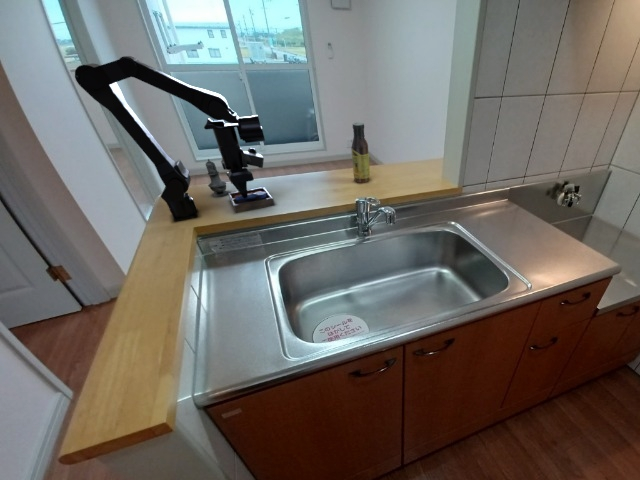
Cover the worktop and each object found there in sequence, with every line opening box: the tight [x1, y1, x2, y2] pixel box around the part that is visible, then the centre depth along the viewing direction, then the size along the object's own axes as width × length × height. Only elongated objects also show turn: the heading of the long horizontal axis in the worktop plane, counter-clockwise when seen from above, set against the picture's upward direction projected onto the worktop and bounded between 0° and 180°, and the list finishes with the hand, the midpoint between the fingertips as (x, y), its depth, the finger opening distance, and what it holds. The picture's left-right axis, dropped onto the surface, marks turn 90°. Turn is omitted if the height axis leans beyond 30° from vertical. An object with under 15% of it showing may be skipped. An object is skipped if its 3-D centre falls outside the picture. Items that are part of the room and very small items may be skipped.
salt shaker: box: [205, 158, 230, 198], centre depth 112 cm, size 6×6×12 cm
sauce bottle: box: [350, 122, 371, 184], centre depth 119 cm, size 7×6×20 cm
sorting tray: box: [227, 186, 275, 214], centre depth 109 cm, size 12×12×2 cm
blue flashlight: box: [235, 191, 267, 201], centre depth 105 cm, size 10×3×2 cm, turn 121°
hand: (245, 196), depth 105 cm, fingers closed on blue flashlight, 1 cm apart
